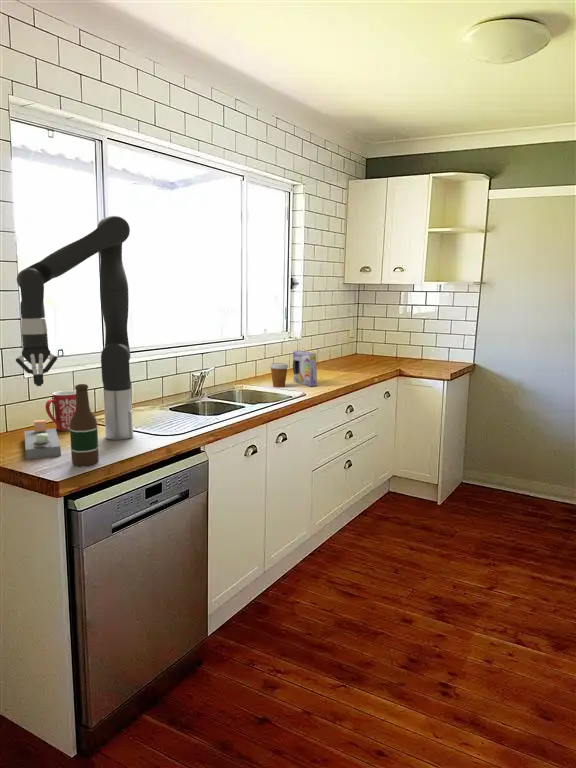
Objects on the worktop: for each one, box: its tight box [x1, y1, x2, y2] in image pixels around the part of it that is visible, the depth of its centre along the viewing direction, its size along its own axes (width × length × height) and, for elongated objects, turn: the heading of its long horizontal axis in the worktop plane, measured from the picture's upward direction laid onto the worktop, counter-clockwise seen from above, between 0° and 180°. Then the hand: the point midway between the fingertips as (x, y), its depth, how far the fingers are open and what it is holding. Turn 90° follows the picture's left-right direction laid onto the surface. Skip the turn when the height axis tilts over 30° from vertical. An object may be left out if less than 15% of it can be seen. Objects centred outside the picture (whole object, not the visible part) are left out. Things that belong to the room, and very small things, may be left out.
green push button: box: [36, 433, 49, 442], centre depth 184 cm, size 4×4×2 cm
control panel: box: [24, 428, 62, 460], centre depth 194 cm, size 10×26×3 cm, turn 24°
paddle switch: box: [33, 419, 47, 432], centre depth 202 cm, size 4×3×3 cm
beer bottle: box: [69, 383, 100, 468], centre depth 175 cm, size 8×8×24 cm
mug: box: [45, 390, 76, 431], centre depth 217 cm, size 13×9×14 cm
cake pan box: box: [292, 350, 318, 387], centre depth 318 cm, size 19×5×18 cm, turn 28°
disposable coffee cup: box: [269, 362, 289, 388], centre depth 311 cm, size 10×10×12 cm
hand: (38, 385), depth 191 cm, fingers closed
